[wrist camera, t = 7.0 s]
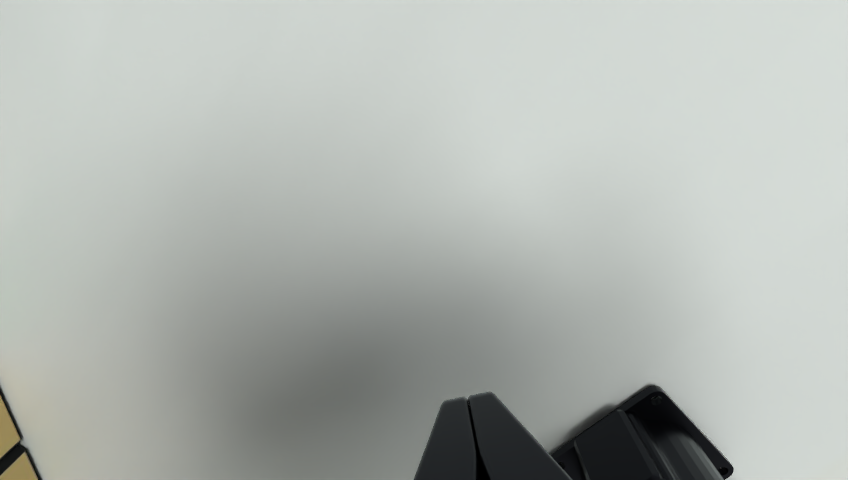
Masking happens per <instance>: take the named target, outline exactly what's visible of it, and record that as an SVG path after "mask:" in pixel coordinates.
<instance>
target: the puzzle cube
mask: <svg viewBox="0 0 848 480" xmlns="http://www.w3.org/2000/svg"><path fill="white" fill-rule="evenodd" d="M20 440H21V439H20V436H19V434H18V432H17V430H16V427H15V425H14V423H13V421H12V419H11V417H10V414H9V412H8V410H7V408H6V406H5V403H4V401H3V399H2V397H1V395H0V480H39V479H38V477H37V475H36V472H35V470H34V468H33V466H32V464H31V461H30V459H29V457H28V455H27V453H26V451H25V448H24V447H22V446H16V445H17V444H18V443H19V441H20Z"/></svg>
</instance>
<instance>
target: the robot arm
mask: <svg viewBox="0 0 848 480" xmlns="http://www.w3.org/2000/svg"><path fill="white" fill-rule="evenodd" d="M655 396H658V397H657V398H656V399H654V400H651V399H652V398H653V397H655ZM468 402H469V403H468ZM558 462H562V463H561V464H558ZM732 473H733V467H732V465H731V464H730V462H729V461H728V460H727V458H726V457H725V456H724V455H723V454H722V453H721V452H720V451H719V450H718V449H717V448H716V447H715V446H714V444H713V443H712V442H711V441H710V440H709V439H708V438H707V437H706V436H705V435H704V434H703V433H702V431H701V430H700V429H699V428H698V427H697V426H696V425H695V424H694V423H693V422H692V421H691V420H690V419H689V417H688V416H687V415H686V414H685V413H684V412H683V411H682V410H681V409H680V408H679V407H678V406H677V404H676V403H675V402H674V401H673V400H672V399H671V398H670V397H669V396H668V395H667V394H666V393H665V392H664V390H663V389H662V388H660V387H658V386H650V387H648V388H646V389H645V390H643V391H642V392H640V393H639V394H638V395H636V396H635V397H633V398H632V399H630V400H629V401H627V402H626V403H625V404H623V405H622V406H620V407H619V408H617V409H616V410H614V411H613V412H612V413H610V414H609V415H607V416H606V417H604V418H603V419H601V420H600V421H599V422H597V423H596V424H594V425H593V426H591V427H590V428H588V429H587V430H586V431H584V432H583V433H581V434H580V435H578V436H577V437H575V438H574V439H572V440H571V441H570V442H568V443H567V444H565V445H564V446H562V447H561V448H559V449H558V450H557V451H555V452H554V453H552V454H551V455H549V453H548V452H547V451H546V450H545V449H544V448H543V447H542V446H541V445H540V444H539V443H538V441H537V440H536V439H535V438H534V437H533V436H532V435H531V434H530V433H529V432H528V430H527V429H526V428H525V427H524V426H523V425H522V424H521V423H520V422H519V421H518V419H517V418H516V417H515V416H514V415H513V414H512V413H511V412H510V411H509V410H508V408H507V407H506V406H505V405H504V404H503V403H502V402H501V401H500V400H499V399H498V398H497V396H496V395H495V394H493V393H492V392H485V393H480V394H475V395H471V396H470V397H469V399H468V400H467V398H465V397H460V398H455V399H450V400H446V401H444V402H443V403H442V405H441V407H440V410H439V413H438V415H437V418H436V421H435V423H434V426H433V429H432V431H431V434H430V437H429V440H428V442H427V445H426V448H425V450H424V453H423V456H422V459H421V461H420V464H419V467H418V469H417V472H416V475H415V477H414V480H725V479H727V478H728V477H730V476H731V475H732Z"/></svg>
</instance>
